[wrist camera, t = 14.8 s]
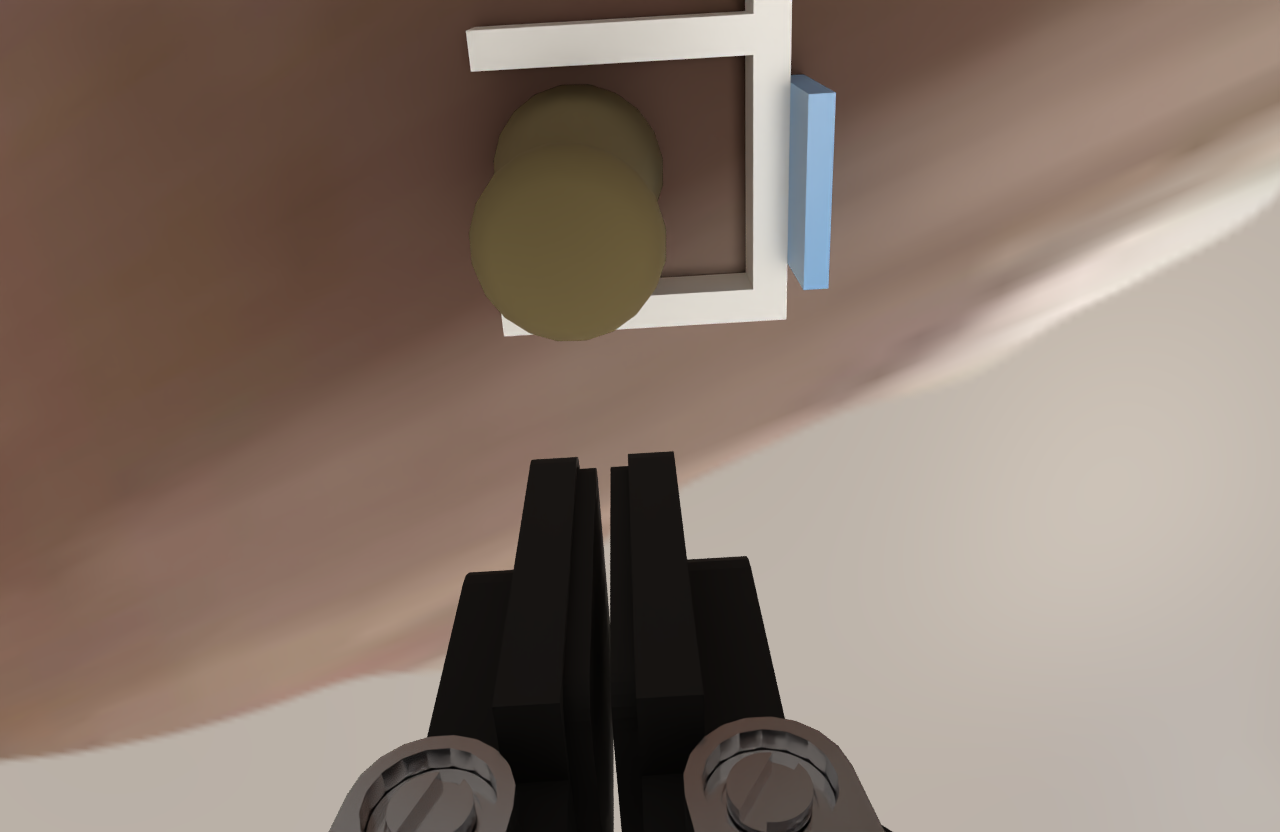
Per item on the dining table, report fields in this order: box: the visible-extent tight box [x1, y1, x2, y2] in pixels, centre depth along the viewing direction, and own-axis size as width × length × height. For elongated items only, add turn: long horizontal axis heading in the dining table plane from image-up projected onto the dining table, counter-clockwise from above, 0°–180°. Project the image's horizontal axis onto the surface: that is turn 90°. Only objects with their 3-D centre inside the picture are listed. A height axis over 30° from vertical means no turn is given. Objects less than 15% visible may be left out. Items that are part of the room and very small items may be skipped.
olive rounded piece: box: [469, 85, 666, 341], centre depth 28 cm, size 6×6×11 cm
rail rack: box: [466, 0, 836, 336], centre depth 29 cm, size 19×11×5 cm, turn 3°
